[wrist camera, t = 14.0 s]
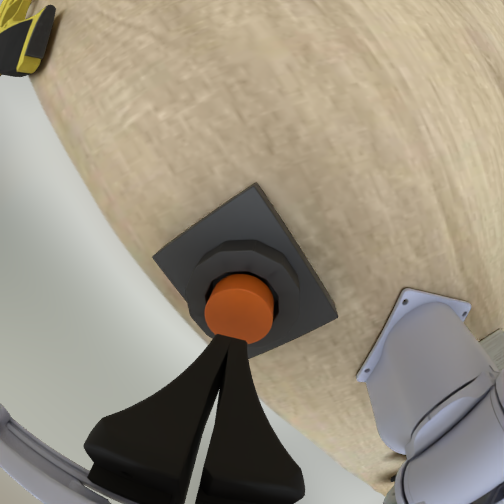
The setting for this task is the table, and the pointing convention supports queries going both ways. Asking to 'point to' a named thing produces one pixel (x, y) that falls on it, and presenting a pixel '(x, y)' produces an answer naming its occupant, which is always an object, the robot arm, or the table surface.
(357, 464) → the table surface
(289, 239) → the block
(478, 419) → the robot arm
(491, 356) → the cosmetic box
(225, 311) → the button
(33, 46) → the handgun
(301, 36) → the table surface
